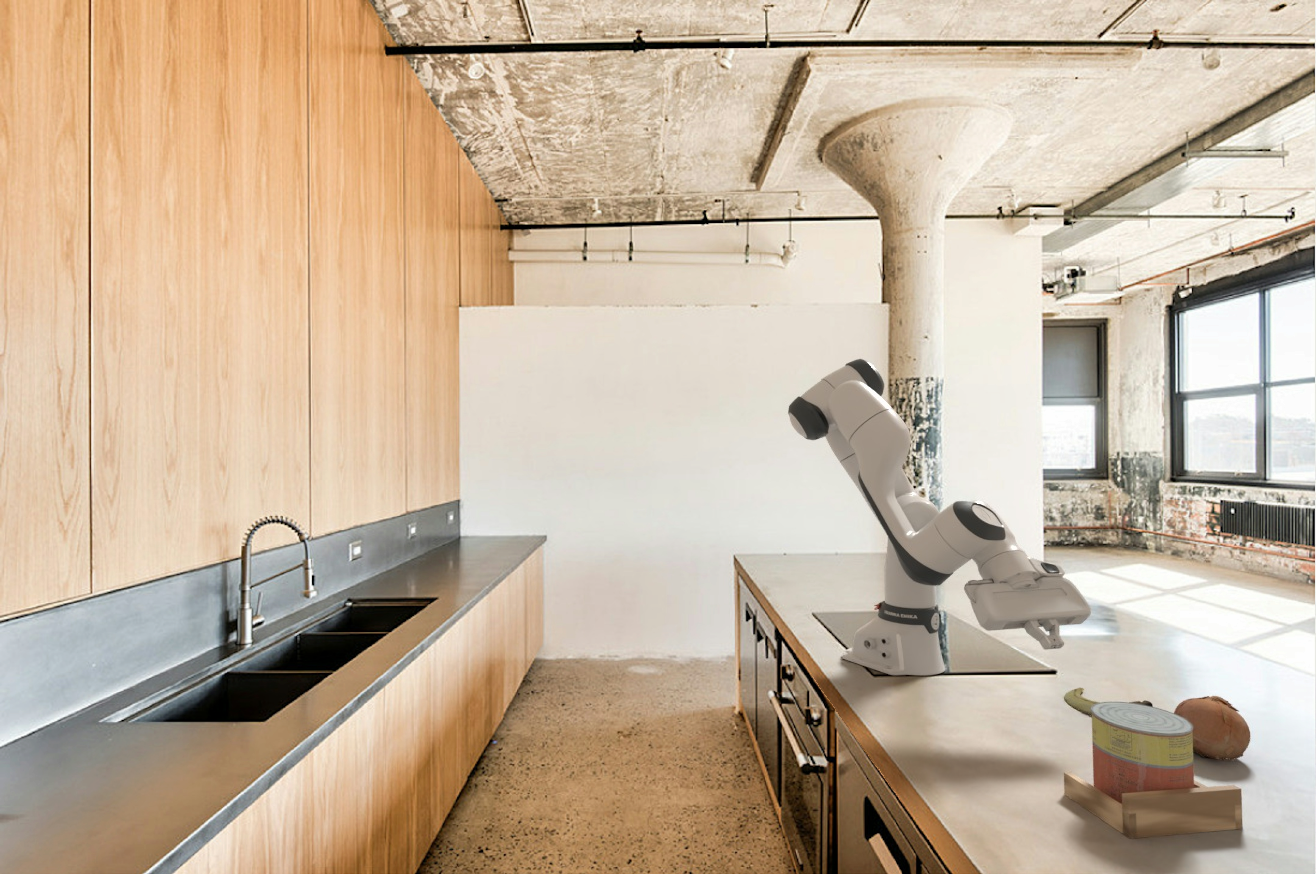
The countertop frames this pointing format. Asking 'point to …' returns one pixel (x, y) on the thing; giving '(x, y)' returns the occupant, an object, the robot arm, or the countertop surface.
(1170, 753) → the canned food
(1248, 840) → the countertop surface
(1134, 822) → the cradle
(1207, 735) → the onion
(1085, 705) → the claw
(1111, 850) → the countertop surface
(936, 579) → the robot arm
